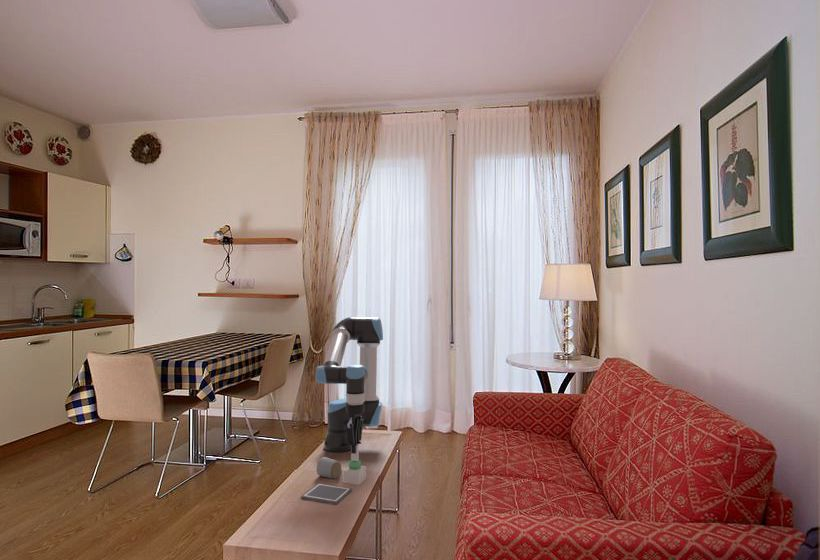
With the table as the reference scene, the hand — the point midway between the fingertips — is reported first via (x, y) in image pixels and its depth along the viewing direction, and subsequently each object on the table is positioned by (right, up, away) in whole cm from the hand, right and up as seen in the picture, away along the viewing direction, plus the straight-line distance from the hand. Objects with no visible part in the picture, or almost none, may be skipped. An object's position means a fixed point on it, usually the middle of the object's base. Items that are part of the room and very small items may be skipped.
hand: (354, 460), depth 200 cm
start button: (0, -2, 0) cm, 2 cm away
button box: (0, -8, 0) cm, 8 cm away
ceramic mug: (-11, -9, +5) cm, 15 cm away
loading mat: (-9, -8, -14) cm, 18 cm away
